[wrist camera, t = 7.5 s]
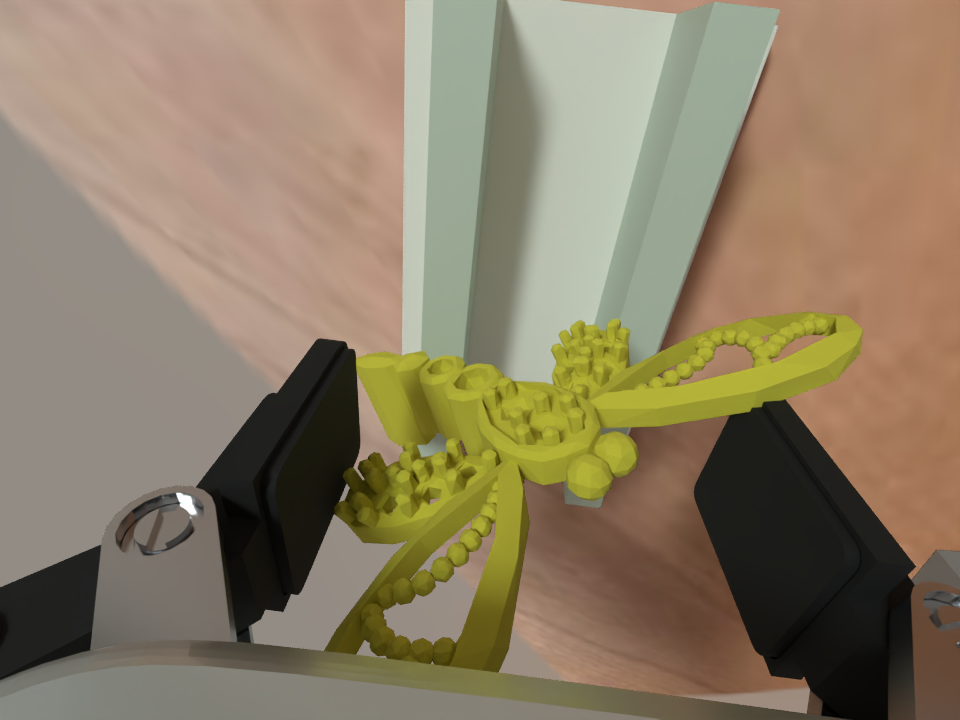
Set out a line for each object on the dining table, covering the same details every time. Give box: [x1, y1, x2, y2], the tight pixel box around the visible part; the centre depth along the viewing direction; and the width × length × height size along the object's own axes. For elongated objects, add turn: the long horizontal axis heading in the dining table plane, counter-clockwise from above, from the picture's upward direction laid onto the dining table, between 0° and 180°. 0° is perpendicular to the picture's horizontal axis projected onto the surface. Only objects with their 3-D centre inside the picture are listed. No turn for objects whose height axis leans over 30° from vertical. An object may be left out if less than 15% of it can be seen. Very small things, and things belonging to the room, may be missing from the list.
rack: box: [402, 0, 780, 508], centre depth 16 cm, size 10×16×4 cm, turn 174°
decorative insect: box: [324, 312, 863, 673], centre depth 11 cm, size 13×3×10 cm
